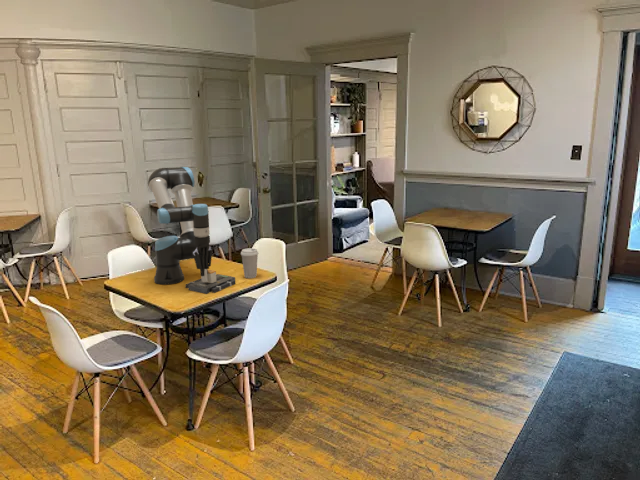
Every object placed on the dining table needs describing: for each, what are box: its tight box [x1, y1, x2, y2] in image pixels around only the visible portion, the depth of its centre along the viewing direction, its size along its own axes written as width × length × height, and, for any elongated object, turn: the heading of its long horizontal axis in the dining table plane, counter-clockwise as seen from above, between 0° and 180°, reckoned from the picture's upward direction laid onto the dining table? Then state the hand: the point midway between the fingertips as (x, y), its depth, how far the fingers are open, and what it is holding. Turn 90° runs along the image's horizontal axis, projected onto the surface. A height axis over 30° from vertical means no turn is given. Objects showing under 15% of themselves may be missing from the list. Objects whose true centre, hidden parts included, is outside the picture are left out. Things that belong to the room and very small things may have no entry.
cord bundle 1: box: [184, 278, 202, 289], centre depth 253 cm, size 5×18×2 cm, turn 151°
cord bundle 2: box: [211, 280, 236, 294], centre depth 246 cm, size 3×16×2 cm, turn 151°
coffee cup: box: [240, 247, 259, 279], centre depth 263 cm, size 10×10×15 cm
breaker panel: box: [187, 273, 236, 295], centre depth 249 cm, size 12×22×3 cm, turn 151°
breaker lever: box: [207, 269, 217, 283], centre depth 247 cm, size 5×4×6 cm
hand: (204, 281), depth 244 cm, fingers closed
